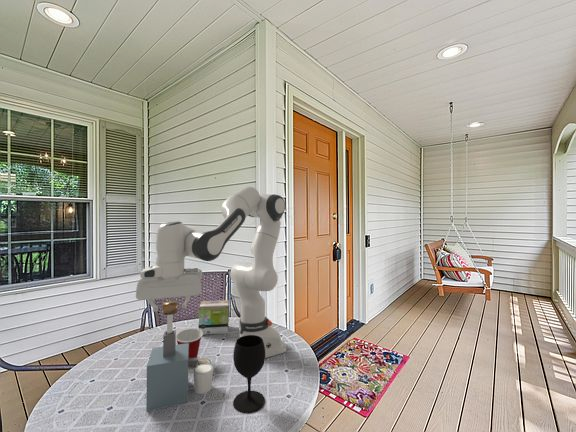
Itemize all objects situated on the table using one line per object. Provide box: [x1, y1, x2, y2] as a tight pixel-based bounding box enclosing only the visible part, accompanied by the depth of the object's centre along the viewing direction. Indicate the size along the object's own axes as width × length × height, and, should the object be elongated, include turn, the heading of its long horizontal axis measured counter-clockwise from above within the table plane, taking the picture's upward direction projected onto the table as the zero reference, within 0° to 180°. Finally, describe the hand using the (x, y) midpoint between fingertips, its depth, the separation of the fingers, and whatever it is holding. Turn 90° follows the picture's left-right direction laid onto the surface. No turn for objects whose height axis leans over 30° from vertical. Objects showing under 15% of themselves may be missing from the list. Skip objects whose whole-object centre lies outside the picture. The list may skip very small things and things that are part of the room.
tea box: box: [198, 299, 230, 335], centre depth 142 cm, size 15×10×15 cm, turn 102°
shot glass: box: [192, 363, 214, 395], centre depth 94 cm, size 7×7×7 cm
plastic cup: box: [176, 327, 204, 358], centre depth 110 cm, size 11×11×12 cm
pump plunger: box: [161, 300, 179, 335], centre depth 90 cm, size 5×5×11 cm
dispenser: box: [145, 329, 199, 412], centre depth 91 cm, size 15×12×21 cm
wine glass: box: [232, 335, 266, 414], centre depth 87 cm, size 10×10×20 cm
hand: (170, 310), depth 90 cm, fingers open, 8 cm apart
